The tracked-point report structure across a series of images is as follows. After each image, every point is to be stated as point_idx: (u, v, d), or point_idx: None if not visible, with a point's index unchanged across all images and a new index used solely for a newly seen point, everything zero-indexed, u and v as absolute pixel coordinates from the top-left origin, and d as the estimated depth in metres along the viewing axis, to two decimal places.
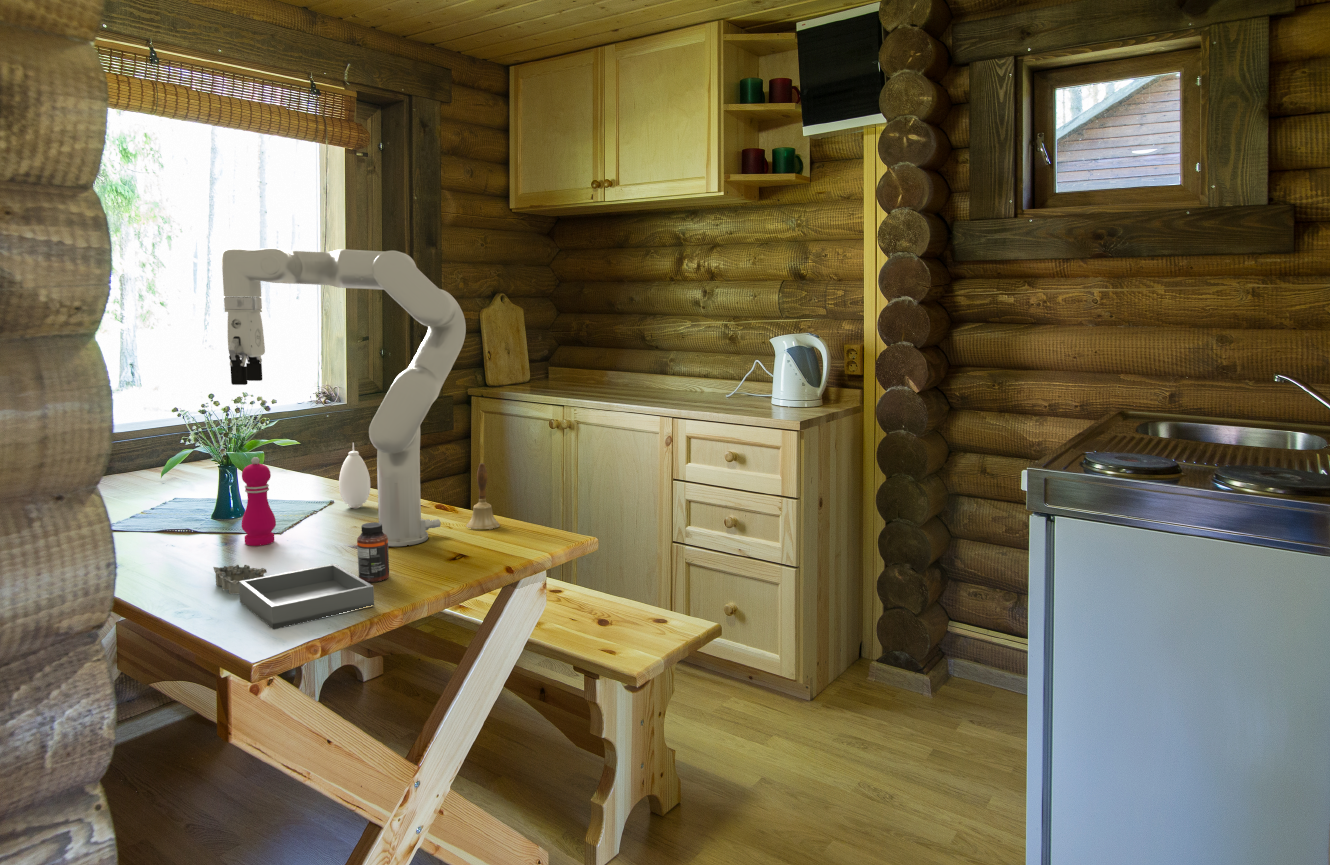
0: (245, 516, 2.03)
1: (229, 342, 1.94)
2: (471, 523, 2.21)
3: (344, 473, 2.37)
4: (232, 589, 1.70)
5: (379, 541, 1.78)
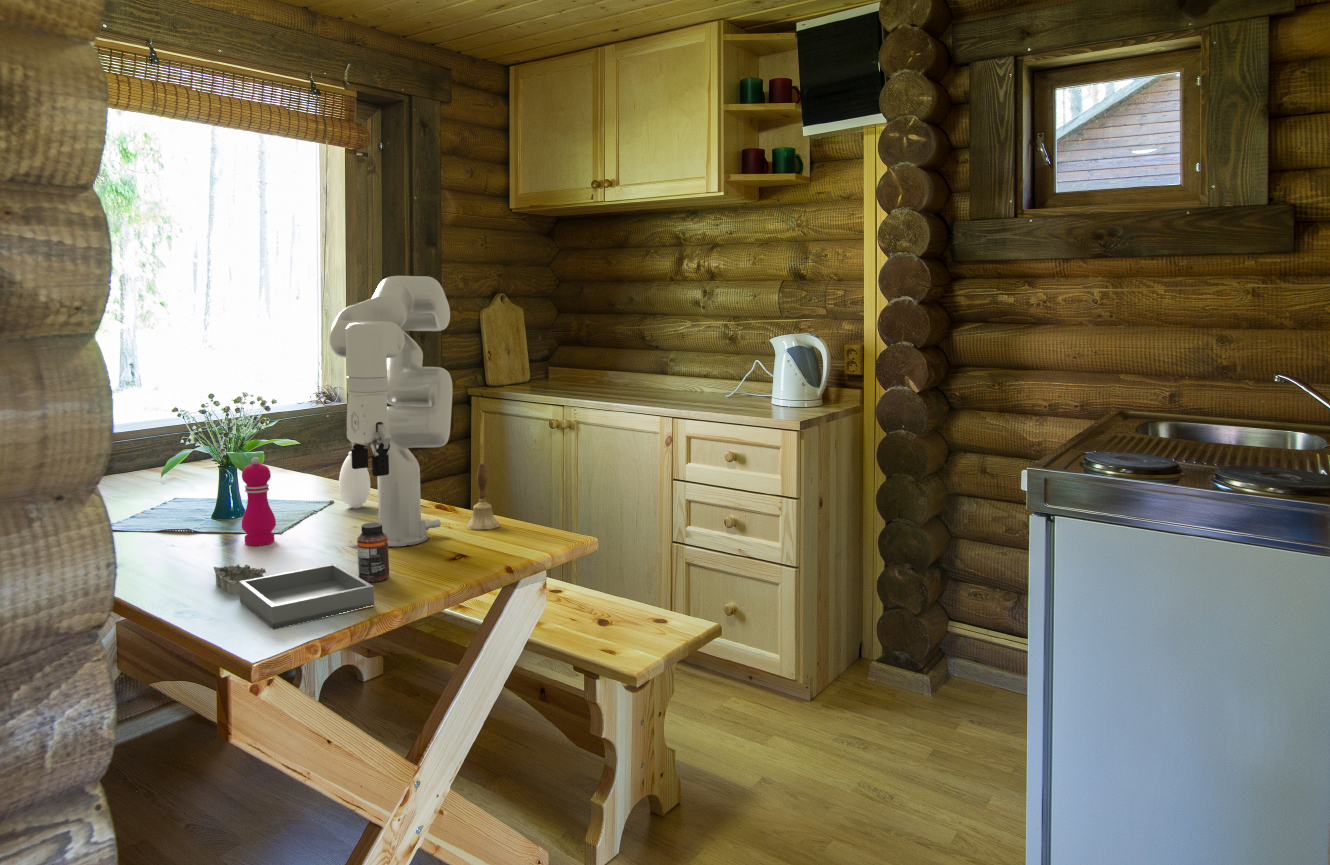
0: (245, 516, 2.03)
1: None
2: (471, 523, 2.21)
3: (344, 473, 2.37)
4: (231, 589, 1.70)
5: (379, 541, 1.78)
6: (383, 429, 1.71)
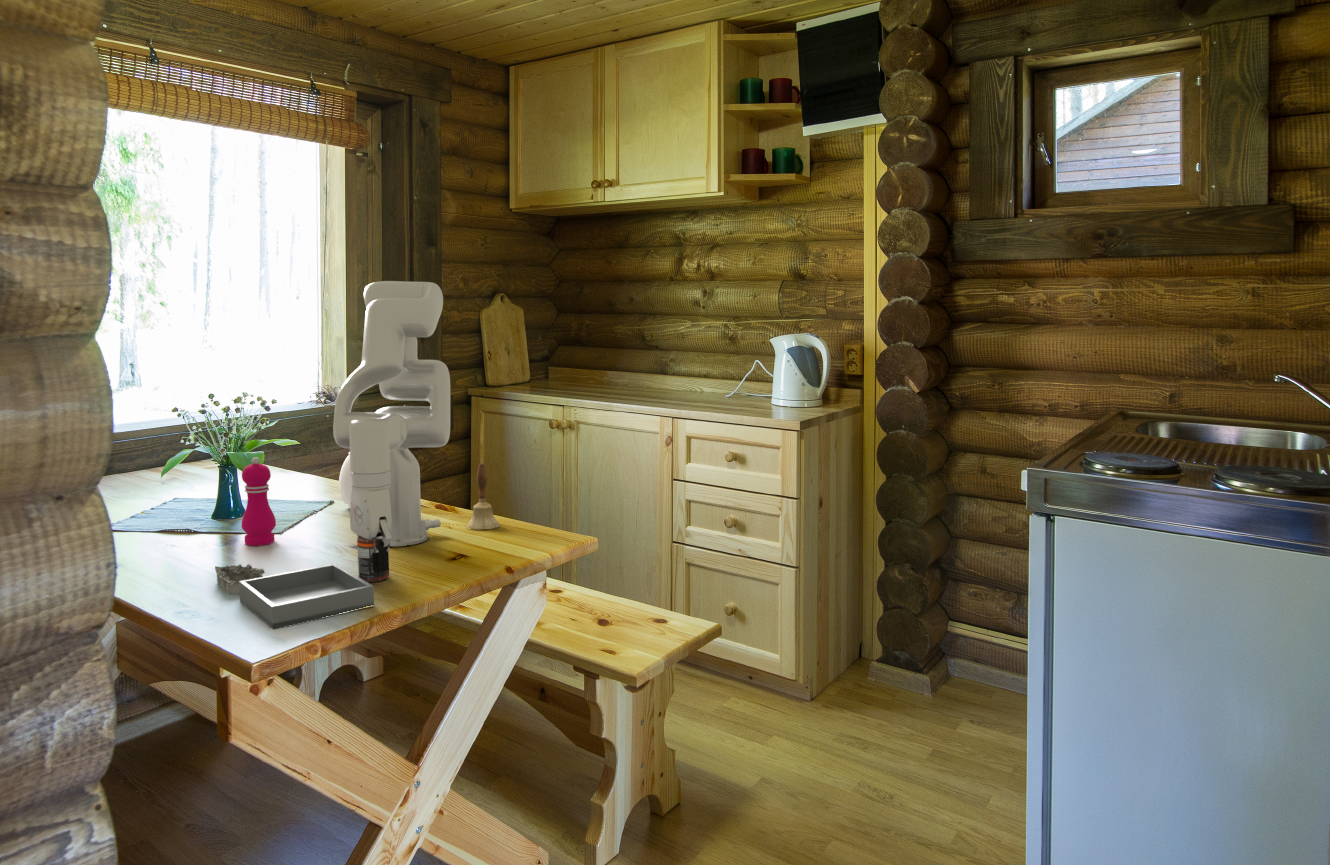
0: (245, 516, 2.03)
1: None
2: (471, 523, 2.21)
3: (344, 473, 2.37)
4: (229, 589, 1.70)
5: (379, 541, 1.78)
6: (385, 529, 1.75)
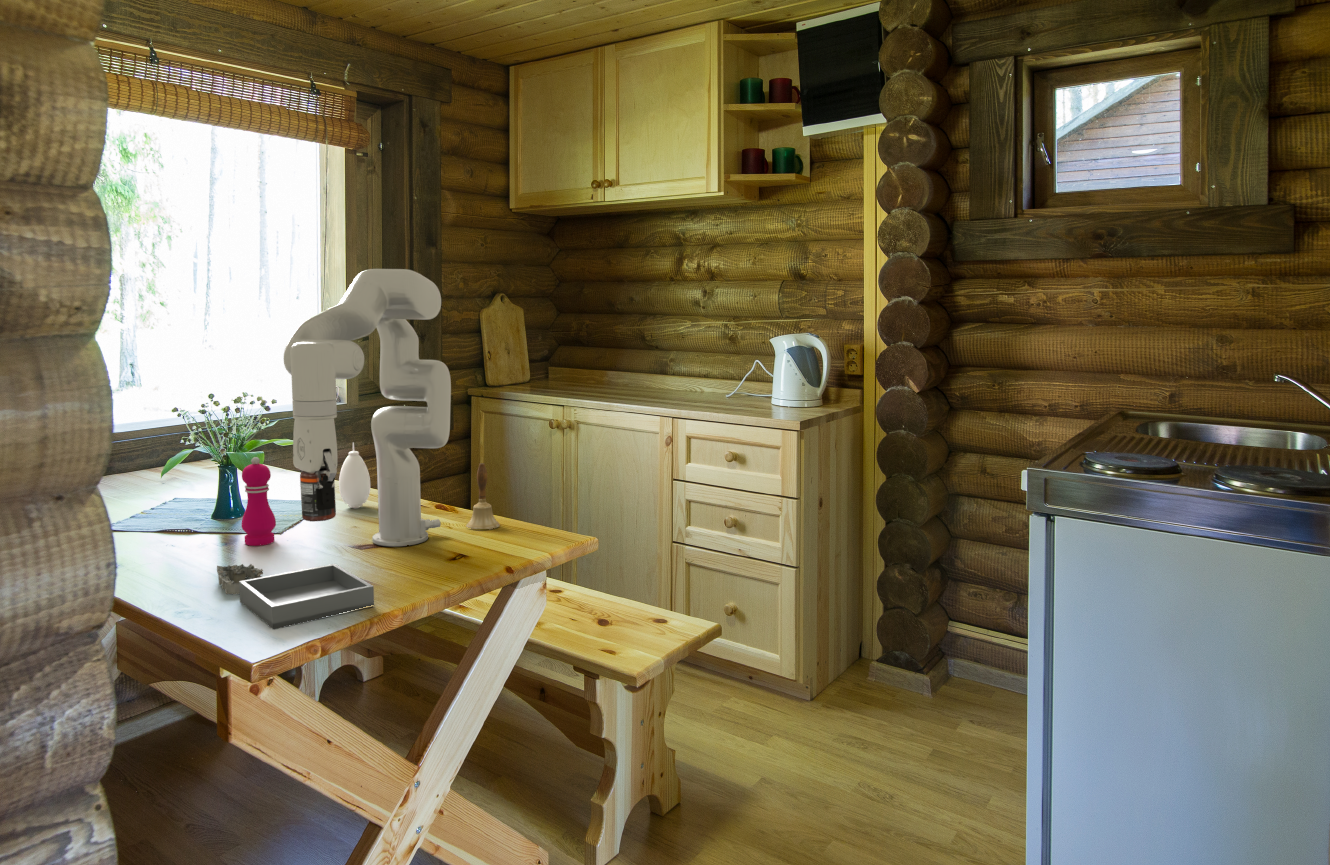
0: (245, 516, 2.03)
1: None
2: (471, 523, 2.21)
3: (344, 473, 2.37)
4: (228, 589, 1.70)
5: None
6: (330, 461, 1.60)
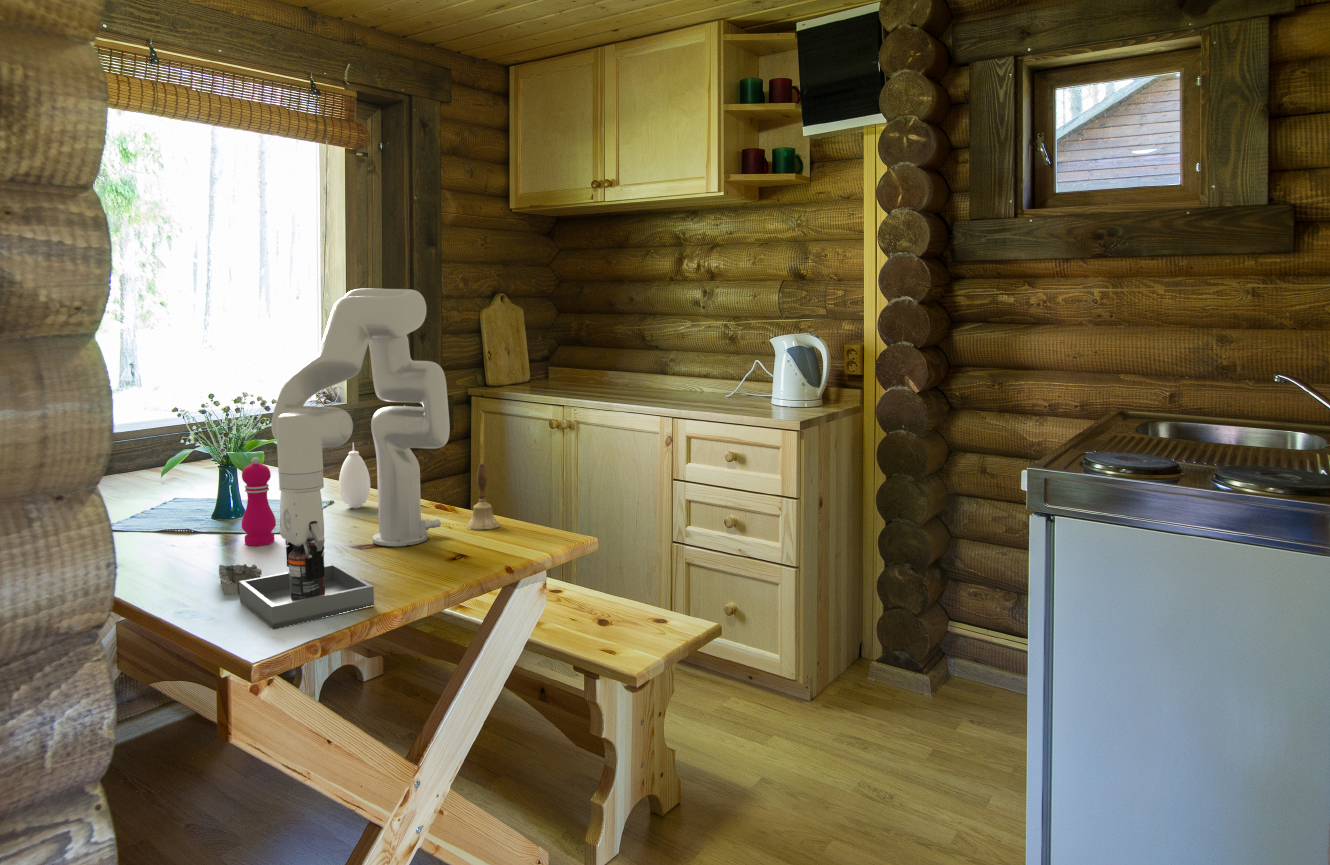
0: (245, 516, 2.03)
1: None
2: (471, 523, 2.21)
3: (344, 473, 2.37)
4: (226, 589, 1.70)
5: None
6: (317, 530, 1.58)
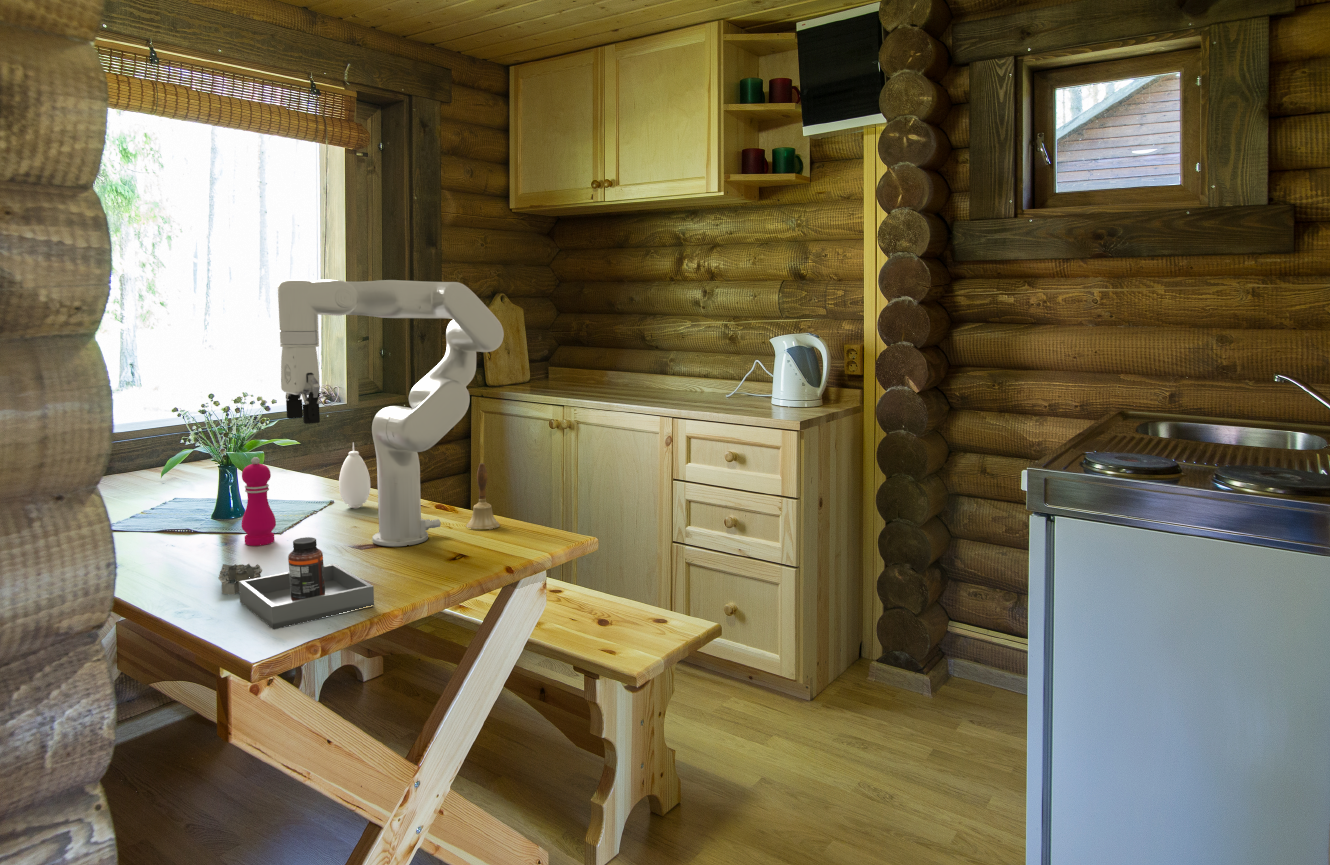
0: (245, 516, 2.03)
1: None
2: (471, 523, 2.21)
3: (344, 473, 2.37)
4: (224, 589, 1.70)
5: (312, 559, 1.62)
6: (313, 379, 1.83)
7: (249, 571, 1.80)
